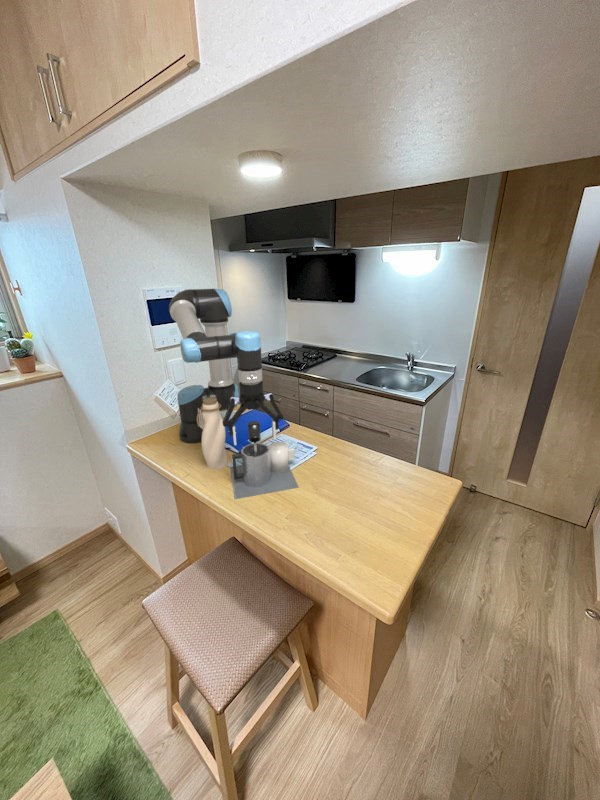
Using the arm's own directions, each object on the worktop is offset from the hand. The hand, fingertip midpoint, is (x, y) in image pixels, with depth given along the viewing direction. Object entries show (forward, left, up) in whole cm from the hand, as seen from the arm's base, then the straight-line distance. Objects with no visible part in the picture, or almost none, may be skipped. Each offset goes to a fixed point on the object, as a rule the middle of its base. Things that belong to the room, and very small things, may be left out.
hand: (254, 440), depth 108 cm
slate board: (-1, +2, -17) cm, 17 cm away
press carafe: (0, -2, -16) cm, 16 cm away
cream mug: (-5, +10, -16) cm, 19 cm away
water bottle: (-14, -14, -17) cm, 26 cm away
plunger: (0, 0, -13) cm, 13 cm away
